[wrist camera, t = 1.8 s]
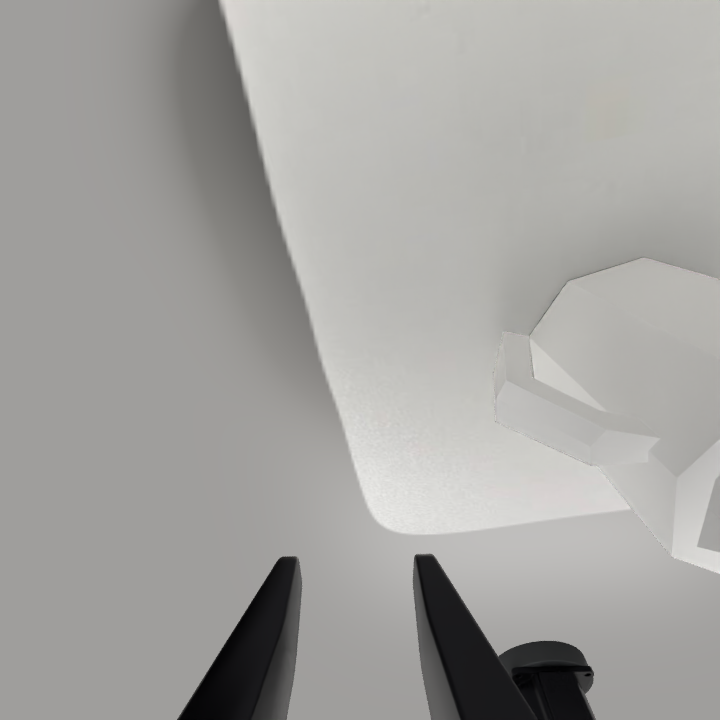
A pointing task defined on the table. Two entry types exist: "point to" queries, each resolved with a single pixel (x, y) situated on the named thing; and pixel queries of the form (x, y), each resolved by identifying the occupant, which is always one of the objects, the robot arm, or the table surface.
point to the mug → (630, 393)
